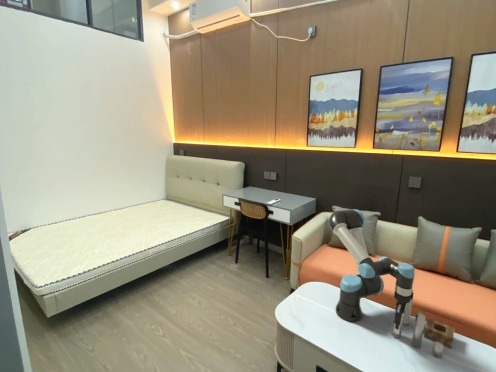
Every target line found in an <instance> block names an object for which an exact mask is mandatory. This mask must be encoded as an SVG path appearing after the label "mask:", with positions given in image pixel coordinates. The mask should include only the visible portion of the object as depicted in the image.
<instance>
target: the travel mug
mask: <svg viewBox="0 0 496 372" xmlns="http://www.w3.org/2000/svg"><path fill="white" fill-rule="evenodd" d="M413 301H414V291H413V292H412V293H411V300H410V302H409V303H406V306H405V311H404V317H405V318H404V320H403V326H408V325H409V324H410V321H411V315H412V314H411V313H412V309H413V307H412V306H413Z"/></svg>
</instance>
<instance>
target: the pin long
mask: <svg viewBox="0 0 496 372" xmlns="http://www.w3.org/2000/svg"><path fill="white" fill-rule="evenodd" d="M414 319H415V320H414V327H413V334H412V339H411V346H412V347H414V348H416V349H421V348H422V341H423V337H424V331H425V323H426V315H425V314H424V313H422V312H416V313H415V318H414Z"/></svg>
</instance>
